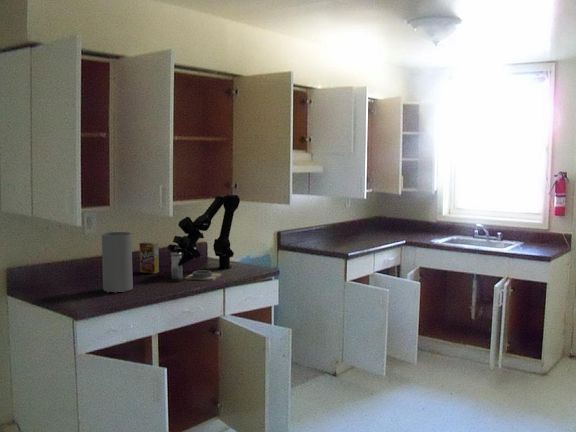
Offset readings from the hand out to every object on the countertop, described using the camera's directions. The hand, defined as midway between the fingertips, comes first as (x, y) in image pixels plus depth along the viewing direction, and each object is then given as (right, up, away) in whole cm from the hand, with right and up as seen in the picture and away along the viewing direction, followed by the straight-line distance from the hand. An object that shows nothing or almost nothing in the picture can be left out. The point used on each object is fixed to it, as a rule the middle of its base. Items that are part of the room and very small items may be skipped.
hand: (174, 265), depth 282 cm
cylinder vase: (-20, -9, -24) cm, 33 cm away
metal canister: (+1, -6, +2) cm, 7 cm away
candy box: (-16, -5, +15) cm, 23 cm away
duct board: (+14, -6, +4) cm, 16 cm away
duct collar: (+13, -6, +2) cm, 15 cm away
